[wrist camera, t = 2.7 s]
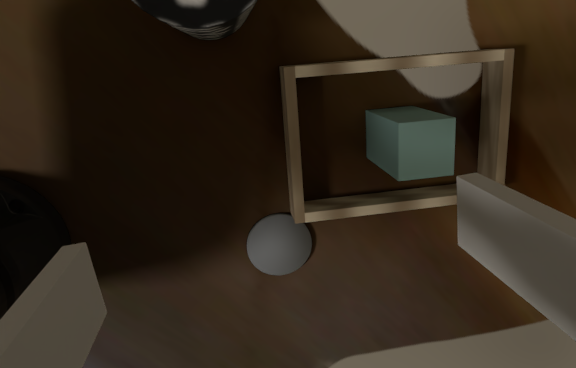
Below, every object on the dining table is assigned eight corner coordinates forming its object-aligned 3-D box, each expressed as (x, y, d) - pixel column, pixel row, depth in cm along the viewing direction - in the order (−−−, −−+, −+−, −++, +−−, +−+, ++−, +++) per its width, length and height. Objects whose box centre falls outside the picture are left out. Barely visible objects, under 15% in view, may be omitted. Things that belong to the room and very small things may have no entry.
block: (366, 157, 46) (398, 181, 38) (365, 110, 45) (398, 123, 36) (412, 152, 47) (453, 175, 38) (412, 105, 45) (455, 117, 37)
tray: (290, 211, 47) (295, 223, 43) (279, 66, 42) (283, 67, 39) (484, 188, 49) (503, 198, 46) (493, 49, 45) (514, 48, 41)
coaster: (250, 276, 48) (250, 279, 48) (243, 217, 46) (243, 219, 46) (312, 268, 49) (313, 270, 48) (308, 209, 47) (309, 211, 46)
